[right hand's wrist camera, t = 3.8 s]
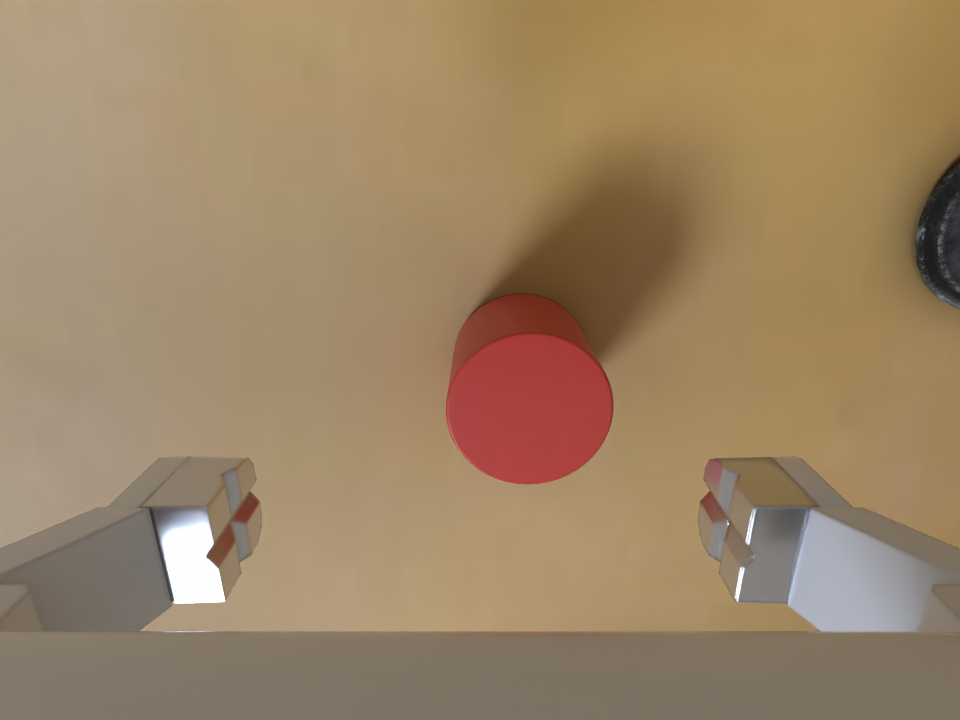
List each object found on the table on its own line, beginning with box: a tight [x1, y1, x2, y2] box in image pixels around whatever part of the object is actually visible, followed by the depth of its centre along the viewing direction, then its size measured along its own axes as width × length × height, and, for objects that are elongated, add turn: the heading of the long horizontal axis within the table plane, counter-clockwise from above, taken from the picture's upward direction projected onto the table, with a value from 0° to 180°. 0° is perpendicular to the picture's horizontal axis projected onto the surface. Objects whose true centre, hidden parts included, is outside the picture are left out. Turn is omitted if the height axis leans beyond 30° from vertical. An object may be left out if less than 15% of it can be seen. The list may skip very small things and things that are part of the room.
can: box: [446, 294, 613, 484], centre depth 16 cm, size 4×4×4 cm
